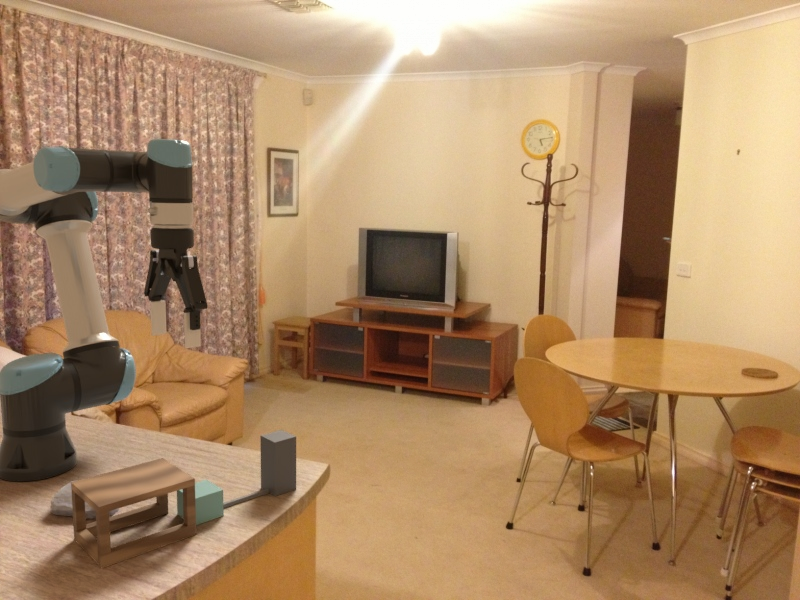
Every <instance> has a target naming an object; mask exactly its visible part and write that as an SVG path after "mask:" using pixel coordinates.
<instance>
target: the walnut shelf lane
mask: <svg viewBox="0 0 800 600" xmlns="http://www.w3.org/2000/svg"><path fill="white" fill-rule="evenodd" d="M73 481H74V482H71V481H70V482H71V490H72V507H73V517H72V520H73V523H72V524H73V539H74V541H75V542H76V543H77V544H78V545H79V546H80V547H81V548H82V549H83V550H84V551H85V552H86V553H87V554H88V555H89V556H90V557H91V558H92V559H93V561H95V563H96V564H97V565H98V566H99V567H100V568H101V569H104V568H106V567H109V566H111V565H114V564H118V563H121V562H123V561H126V560H128V559H132V558H134V557H137V556H140V555H143V554H146V553H149V552H151V551H154V550H157V549H159V548H162V547H165V546H168V545H170V544H173V543H176V542H179V541H182V540H184V539H187V538H191V537H192V536H196V535H197V525H196V506H195V483H196V478H195V477H193V476H192V475H190V474H188V473H187V472H186V471H184V470H182V469H181V468H179V467H178V466H176V465H174V464H173V463H171V462H170V461H169V460H167V459H165V458H164V457H161V458H157V459H154V460H149V461H147V462H143V463H139V464H135V465H132V466H127V467H123V468H120V469H115V470H113V471H112V470H111V471H108V472H105V473H101V474H98V475H97V474H96V475H94V476H90V477H85V478H83V479H82V478H81V479H78V480H77V481H75V480H73ZM181 489H183V517H184V519H183V522H182V523H180V524H178V525H175V526H172V527H169V528H165V529H163V530H160V531H158V532H154V533H151V534H148V535H146V536H143V537H139V538H136V539H133V540H130V541H127V542H125V543H121V544H118V545H116V546H112V543H111V532H115V531H119V530H121V529H123V528H127V527H130V526H134V525H136V524H139V523H142V522H143V523H144V522H146V521H148V520H152V519H155V518H158V517H162V516H163V515H168V514H169V494H170V493H173V492H177V491H178V490H181ZM154 498H155V500H156V501H155V502H154V503H150V504H148V505H144V506H141V507H138V508H135V509H134V508H133V509H132V510H128V511H125V512H122V513H119V514H114V515H112V516H109V511H112V510H115V509H118V508H119V509H121V508H125V507H128V506H131V505H134V504H138V503H141V502H145V501H147V500H151V499H154ZM85 502H86V503H87V504H88V505H90V506H91V507H92V508H93V509H94V510H95V511H96V518H95V521H92V522H90V523H87V521H86V520H87V518H86V516H85Z"/></svg>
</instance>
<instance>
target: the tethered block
mask: <svg viewBox="0 0 800 600" xmlns="http://www.w3.org/2000/svg"><path fill="white" fill-rule="evenodd" d="M260 488H261V490H258V491H255V492H252V493H248V494H246V495H242V496H240V497H237V498H233V499H231V500H227V501H224V489H223V488H221V487H219V486H218V485H216V484H215V483H213V482H211V481H210V480H209V479H204V480H200V481H197V482H195V506H196V526H198V525H201V524H204V523H207V522H210V521H212V520H215V519H217V518H221V517H224V515H225V514H224V509H225V508H228V507H231V506H235V505H237V504H240V503H243V502H247V501H250V500H251V499H254V498H255V499H256V498H257V497H260V496H264V495H267V494H270V495H272V496H273V497H277V496H280V495H283V494H286V493H289V492H291V491H294V490H297V436H296V435H294V434H292V433H289V432H287V431H285V430H283V429H280V430H275V431H272V432H269V433H265V434H260ZM176 509H177V513H176V514H177V515H178V516H179V517H180V518H181V519H183V520H184V517H183V489H181V490H178V491H176Z"/></svg>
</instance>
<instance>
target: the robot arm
mask: <svg viewBox="0 0 800 600" xmlns="http://www.w3.org/2000/svg"><path fill="white" fill-rule="evenodd" d="M146 148H147V149H146V151H132V150H131V151H129V150H127V151H126V150H114V149H112V150H111V149H109V150H108V149H90V148H75V147H66V146H45V147H44V146H43V147H41V148H39V149H38V150H37V152H36V155H34V159H33V161H31V162H29V163H26V164H24V165H22V166H19V167H15V168H13V169H10V168H9V169H8V168H0V221H1V222H5V223H9V224H16V225H17V224H20V225H22V224H23V225H24V224H25V225H27V224H28V225H29V224H32V225H34V226H35V227H34V228H35V231H36V234H37V236H39V237H41V238H42V239H44V240H45V242H46V246H47V251H48V256H49V261H50V265H51V271H52V275H53V280H54V285H55V288H56V293H57V297H58V298H57V299H58V302H59V306H60V311H61V316H62V321H63V324H64V329H65V330H64V331H65V335H66V338H67V345H66V346H65V347H64V349H63V350H62V356H61V355H60V354H59V353H55V352H44V353H41V354H40V353H35V354H31V355H30V354H29V355H26V356H22V357H19V358H16V359H14V360H11V361H9V362H7V364H5V365H4V366H2V368H1V369H0V412H1V422H2V423H1V425H2V439H1V444H0V479H1V480H4V481H9V482H33V481H37V480H38V481H39V480H45V479H48V478H52V477H56V476H59V475H61V474H64V473H67V472H68V471H70V470H72V469H73V468H74V467H75V466H76V465H77V463H78V458H77V450H76V448H75V445H74V444H73V441H72V439H71V437H70V434H69V432H68V430H67V425H66V414H69V413H74V412H77V411H83V410H87V409H91V408H97V407H101V406H107V405H109V406H110V405H112V404H114V403H117V402H121V401H124V400H125V399H127V398H129V396H130V394H131V393H132V392H133V390H134V387H135V384H136V383H135V382H136V373H137V372H136V369H137V368H136V364H135V358H134V355H132V354H131V351H130V350H128V349H127V348H124V347H123V348H121V347H120V342H119V339H117V338H116V337H114V336H112V335H111V334H110V331H109V325H108V322H107V317H106V314H105V313H106V312H105V308H104V304H103V300H102V294H101V291H100V285H99V282H98V281H99V280H98V277H97V273H96V268H95V264H94V259H93V255H92V250H91V246H90V241H89V236H88V233H89V232H90V230H91V229H92V228H93V222H94V221H95V220H96V219H97V217H98V214H99V209H98V207H99V201H98V196H97V192H100V193H102V192H103V193H105V192H106V193H107V192H108V193H139V194H142V193H148V196H149V199H148V201H149V208H148V209H147V212H148V214H149V219H150V220H149V221H150V222H149V223H150V224H151V225H152V226H153V227H151V228H150V234H149V235H150V246H151V248H152V249H153V250H152V249H151V250H150V252H149V265H148V269H147V275H146V279H145V284H144V291H143V295H144V297H148V301H149V302H150V303H149V304H150V307H149V308H150V329H151V330H150V333H151V336H153V337H154V336H159V335H161V336H162V335H167V306H166V303H167V302H166V300H167V298H166V292H167V289H168V287H169V284H170V282H171V280H172V281H173V282H175V283H176V286H177V288H178V291H179V295H180V297H181V298H182V301H183V304H184V306H185V308H184V309H183V311H182V313H183V316H184V319H183V321H184V324H183V326H184V328H183V329H184V348H185V349H191V348H198V347H202V340H201V339H202V336H201V335H202V334H201V332H202V331H201V312H202V311H203V310H205V309H207V310H208V302H207V301H208V300H207V297H206V294H205V290H204V287H203V283H202V279H201V274H200V271H199V265H198V257H197V255H196V254H195V255H193V254H192V255H188V249H192V248H193V247H194V245H195V234H194V233H195V231H194V229H193V228H192V227H191V226H192V225H193V224H194V223H195V222H194V221H195V220H194V202H193V201H194V200H193V198H194V196H193V195H194V194H193V193H194V192H193V190H194V189H193V186H194V184H193V183H194V182H193V181H194V180H193V177H194V176H193V165H194V163H193V160H192V159H193V158H192V147H191V144H190V142H188V141H186V140H182V139H181V140H180V139H171V138H170V139H169V138H167V139H166V138H153V139H150V140H149V141H148V143H147V147H146ZM154 249H155V250H154ZM62 357H63V358H62Z"/></svg>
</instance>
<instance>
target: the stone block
mask: <svg viewBox="0 0 800 600" xmlns="http://www.w3.org/2000/svg"><path fill="white" fill-rule="evenodd" d="M74 481H78V480H76V479H75V480H72V481H69V482H68V483H67V484H65V485H63V486H62V487H61V488H59V490H58V491H57V492H56V493H55V494H54V496H53V497H52V499H51V502H50V511H51V514H53V515H58V516H65V517H72V518H73V507H72V490H71V482H74ZM119 510H120V508H118V509H115V510H112V511H109V517H112V516H115V515H116V513H117V512H119ZM85 516H86V519H88V520H89V519H90V520H96V511H95V510H94V509H93V508H92V507H91V506H90V505H88V504H87V503H86V502H85Z"/></svg>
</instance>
